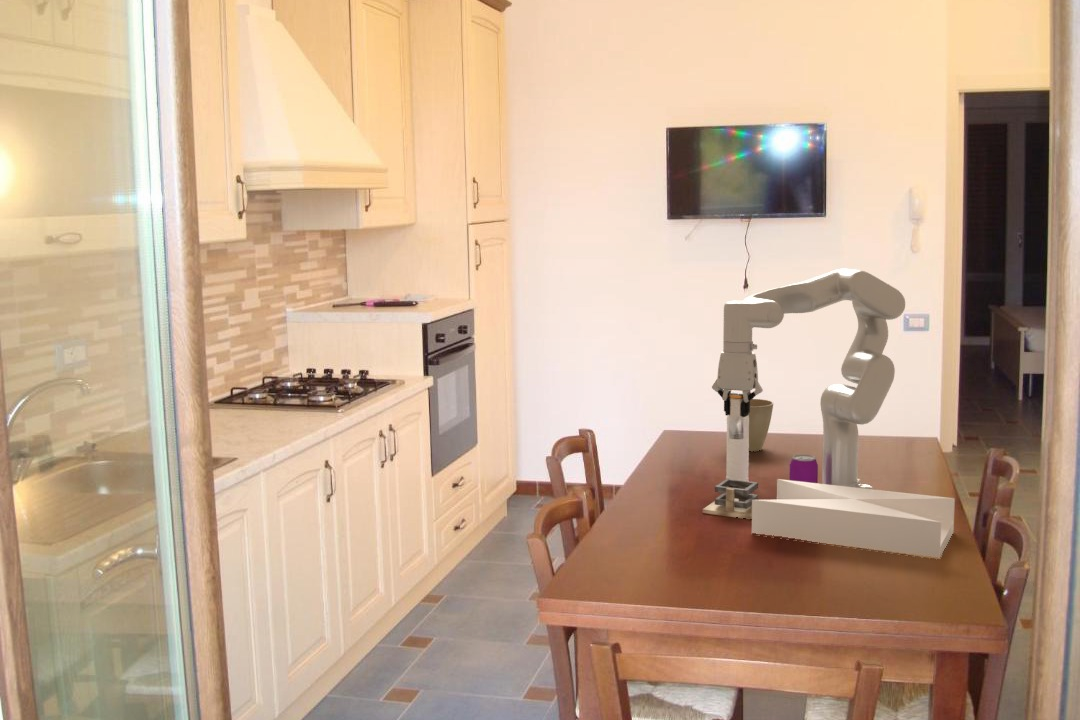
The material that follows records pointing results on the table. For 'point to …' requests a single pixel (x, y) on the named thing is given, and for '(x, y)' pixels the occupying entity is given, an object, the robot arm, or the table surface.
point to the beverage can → (804, 469)
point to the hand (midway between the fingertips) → (736, 414)
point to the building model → (857, 517)
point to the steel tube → (736, 416)
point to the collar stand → (733, 499)
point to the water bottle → (738, 454)
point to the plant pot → (759, 422)
